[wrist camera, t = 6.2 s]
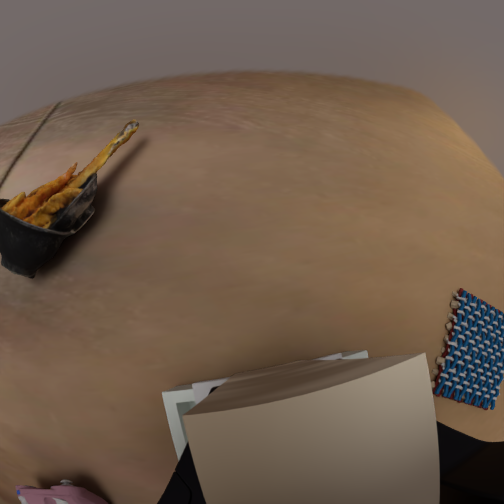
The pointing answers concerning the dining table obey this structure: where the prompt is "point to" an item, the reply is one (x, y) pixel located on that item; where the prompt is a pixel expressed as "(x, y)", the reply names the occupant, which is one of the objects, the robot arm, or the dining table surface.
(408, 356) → the plate
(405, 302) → the dining table surface
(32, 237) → the fried shrimp in bowl
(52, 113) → the dining table surface
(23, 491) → the video game controller
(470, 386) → the woven mat
